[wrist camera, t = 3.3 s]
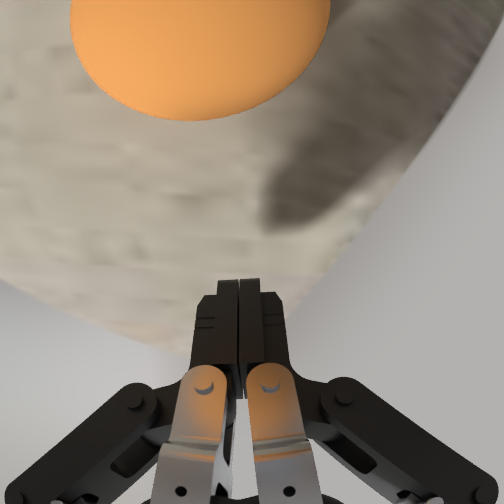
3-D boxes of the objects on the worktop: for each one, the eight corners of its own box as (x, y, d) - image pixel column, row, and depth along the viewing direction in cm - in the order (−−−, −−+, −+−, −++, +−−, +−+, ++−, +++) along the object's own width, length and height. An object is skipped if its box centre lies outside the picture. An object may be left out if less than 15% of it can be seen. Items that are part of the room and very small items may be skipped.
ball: (133, 110, 10) (44, 180, 5) (119, -38, 6) (19, -83, 1) (304, 95, 10) (369, 151, 5) (298, -58, 6) (355, -138, 1)
